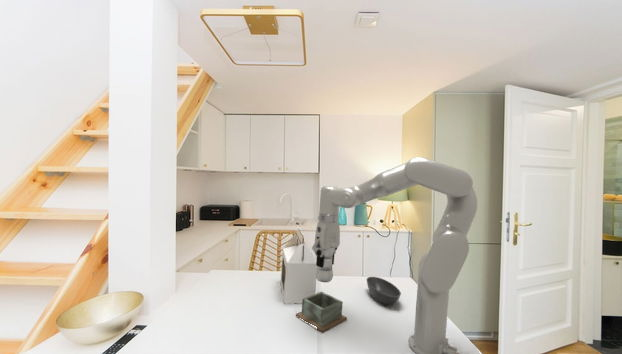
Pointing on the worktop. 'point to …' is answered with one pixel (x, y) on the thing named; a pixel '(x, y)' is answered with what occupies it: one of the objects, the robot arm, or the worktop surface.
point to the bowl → (383, 291)
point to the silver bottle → (326, 266)
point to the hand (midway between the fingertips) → (325, 264)
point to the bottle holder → (322, 311)
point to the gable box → (297, 270)
